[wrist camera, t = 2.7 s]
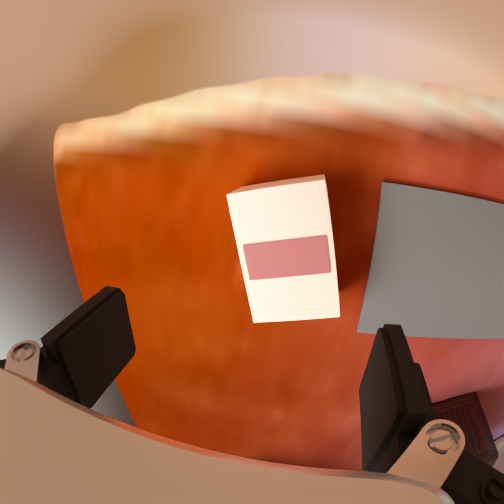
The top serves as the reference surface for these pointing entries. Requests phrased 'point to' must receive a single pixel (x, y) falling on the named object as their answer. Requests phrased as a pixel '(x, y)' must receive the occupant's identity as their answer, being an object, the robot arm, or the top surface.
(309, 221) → the card box
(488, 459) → the vintage coffee grinder
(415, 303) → the mat
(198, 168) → the top surface
